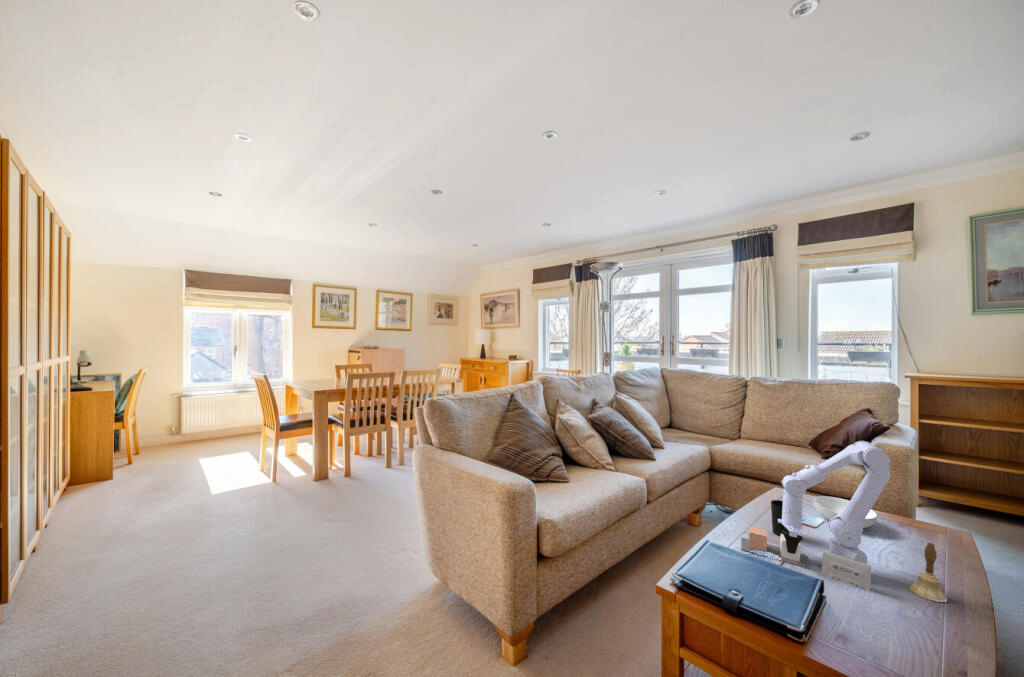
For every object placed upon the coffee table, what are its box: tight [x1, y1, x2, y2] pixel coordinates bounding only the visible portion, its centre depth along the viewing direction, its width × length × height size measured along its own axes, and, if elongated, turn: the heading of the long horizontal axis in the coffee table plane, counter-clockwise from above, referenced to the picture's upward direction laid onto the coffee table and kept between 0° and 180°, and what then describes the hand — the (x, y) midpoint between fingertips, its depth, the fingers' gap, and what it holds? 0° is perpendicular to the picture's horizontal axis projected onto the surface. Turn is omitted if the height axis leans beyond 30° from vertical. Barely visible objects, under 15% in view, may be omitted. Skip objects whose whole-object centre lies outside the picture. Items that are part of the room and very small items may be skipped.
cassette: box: [821, 550, 872, 592], centre depth 127 cm, size 12×2×8 cm, turn 49°
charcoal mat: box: [740, 537, 810, 570], centre depth 143 cm, size 20×10×1 cm, turn 59°
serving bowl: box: [813, 495, 878, 529], centre depth 169 cm, size 21×21×7 cm
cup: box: [770, 499, 784, 538], centre depth 157 cm, size 8×8×12 cm
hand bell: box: [908, 542, 947, 600], centre depth 122 cm, size 8×8×16 cm
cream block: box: [779, 534, 801, 562], centre depth 141 cm, size 5×5×6 cm
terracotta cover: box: [748, 525, 768, 552], centre depth 146 cm, size 5×5×6 cm
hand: (790, 548), depth 141 cm, fingers open, 7 cm apart
